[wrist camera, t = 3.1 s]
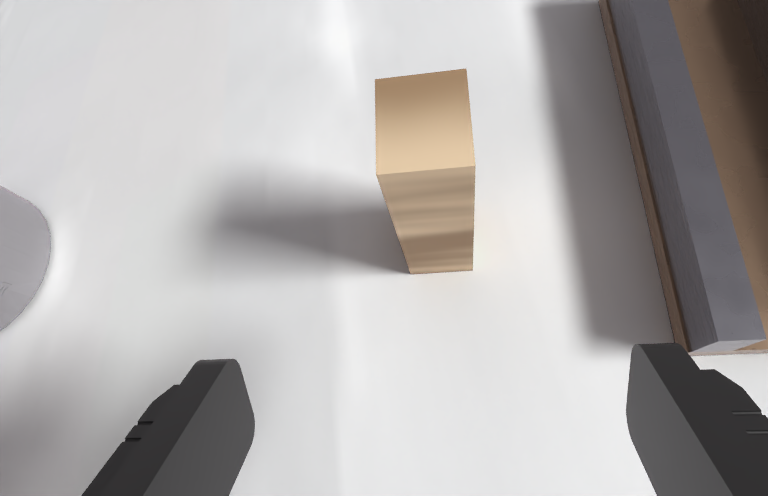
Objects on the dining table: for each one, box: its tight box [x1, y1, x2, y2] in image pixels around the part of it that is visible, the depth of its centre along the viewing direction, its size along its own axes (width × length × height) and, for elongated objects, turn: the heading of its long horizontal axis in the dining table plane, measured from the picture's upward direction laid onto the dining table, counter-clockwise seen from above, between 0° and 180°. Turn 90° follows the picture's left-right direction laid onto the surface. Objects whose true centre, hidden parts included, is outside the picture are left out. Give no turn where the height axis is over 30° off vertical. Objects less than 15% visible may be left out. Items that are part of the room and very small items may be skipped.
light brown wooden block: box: [375, 69, 475, 274], centre depth 20 cm, size 4×3×10 cm
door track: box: [599, 0, 768, 356], centre depth 23 cm, size 20×8×4 cm, turn 1°
